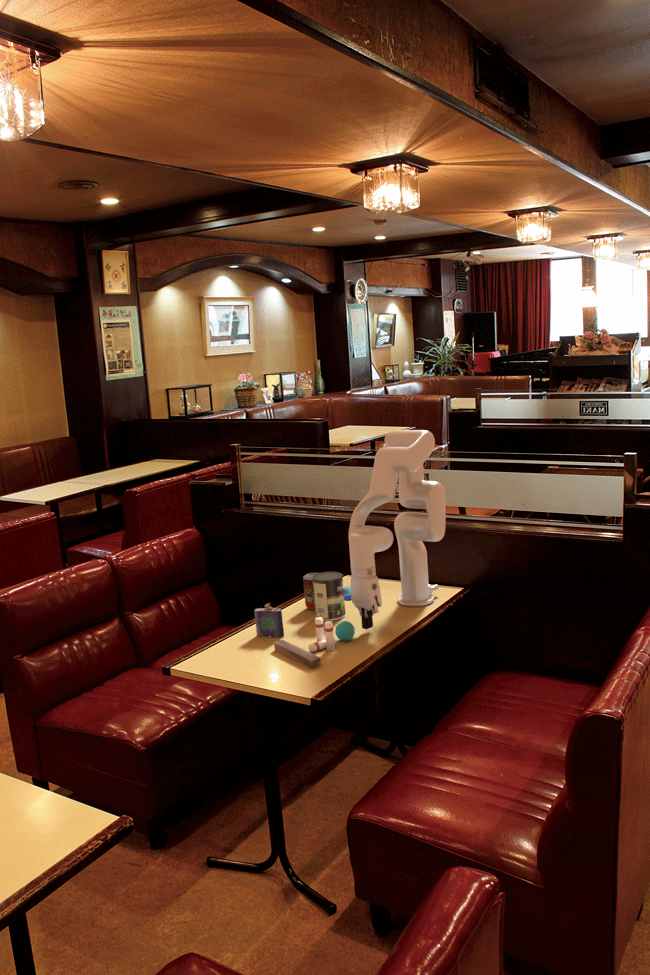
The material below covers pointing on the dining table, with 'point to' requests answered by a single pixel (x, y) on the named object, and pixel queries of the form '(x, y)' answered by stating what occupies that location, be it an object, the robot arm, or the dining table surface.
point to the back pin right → (319, 629)
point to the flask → (269, 622)
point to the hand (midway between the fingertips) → (367, 627)
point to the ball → (344, 630)
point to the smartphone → (347, 592)
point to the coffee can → (329, 595)
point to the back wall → (297, 654)
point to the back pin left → (329, 636)
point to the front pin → (318, 645)
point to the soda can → (309, 591)
